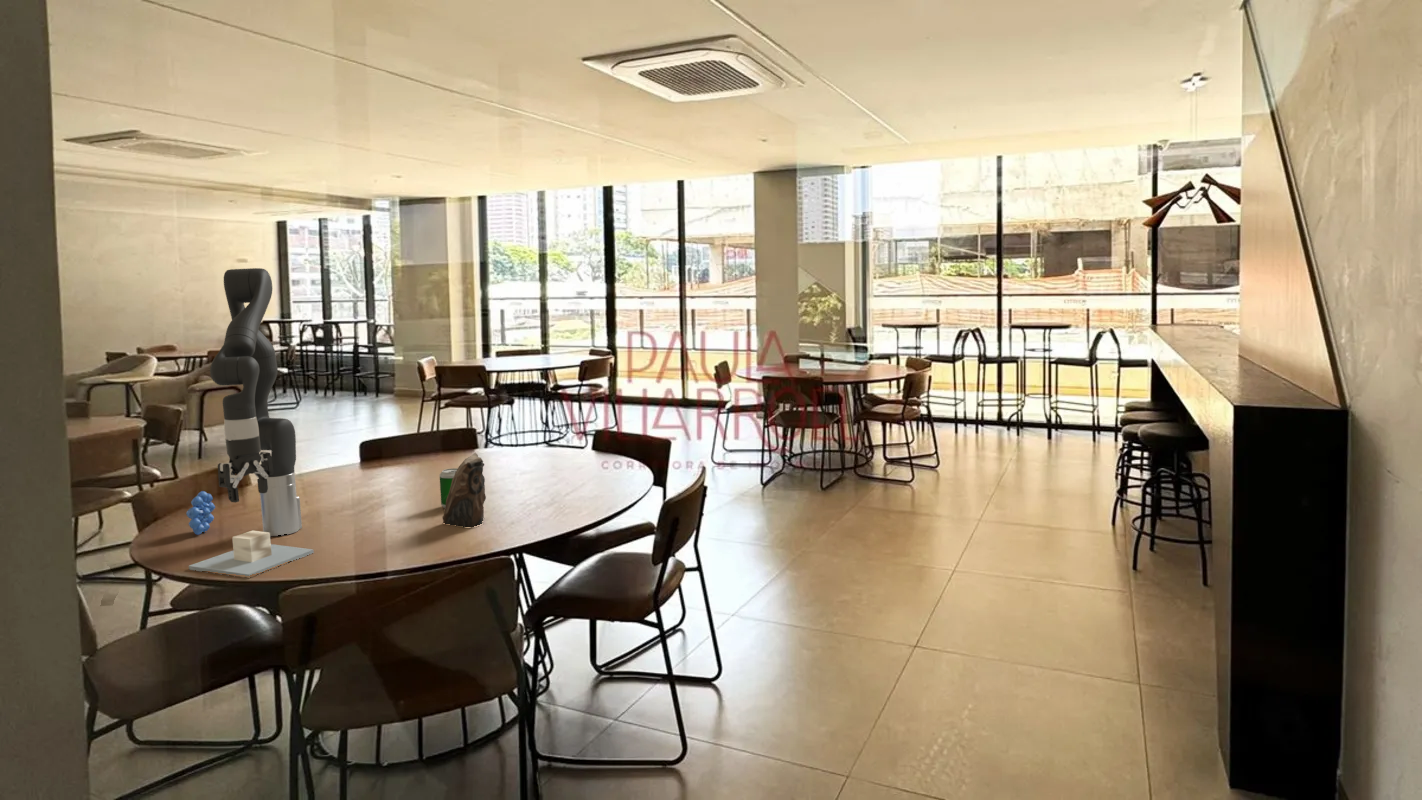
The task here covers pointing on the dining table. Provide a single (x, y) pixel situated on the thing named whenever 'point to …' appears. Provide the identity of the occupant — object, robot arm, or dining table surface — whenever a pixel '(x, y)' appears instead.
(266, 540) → the maple block
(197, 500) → the grapes
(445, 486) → the soda can
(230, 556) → the slate board
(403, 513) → the dining table surface
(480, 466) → the owl
